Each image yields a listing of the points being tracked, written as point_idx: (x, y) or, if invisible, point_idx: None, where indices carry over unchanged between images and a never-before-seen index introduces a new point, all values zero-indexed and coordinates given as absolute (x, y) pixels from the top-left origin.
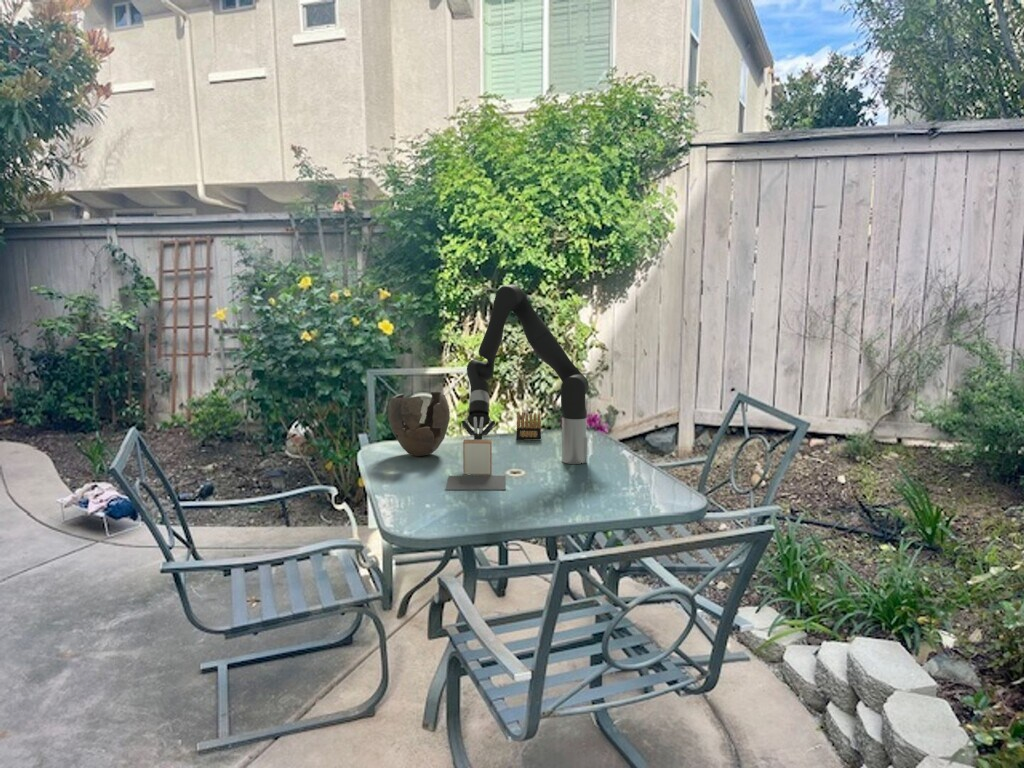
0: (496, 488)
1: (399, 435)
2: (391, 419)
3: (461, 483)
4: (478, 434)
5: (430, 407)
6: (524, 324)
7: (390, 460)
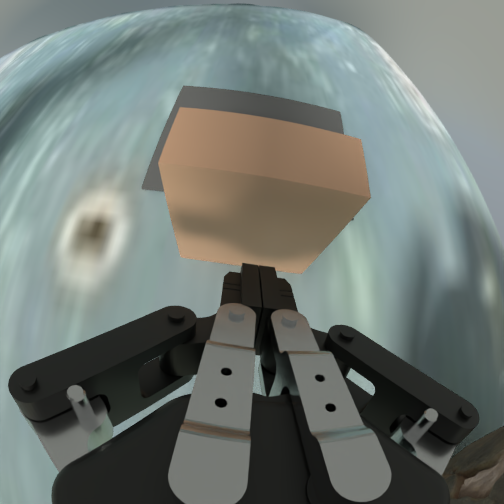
0: (205, 91)
1: None
2: None
3: None
4: (258, 303)
5: None
6: None
7: (501, 412)
